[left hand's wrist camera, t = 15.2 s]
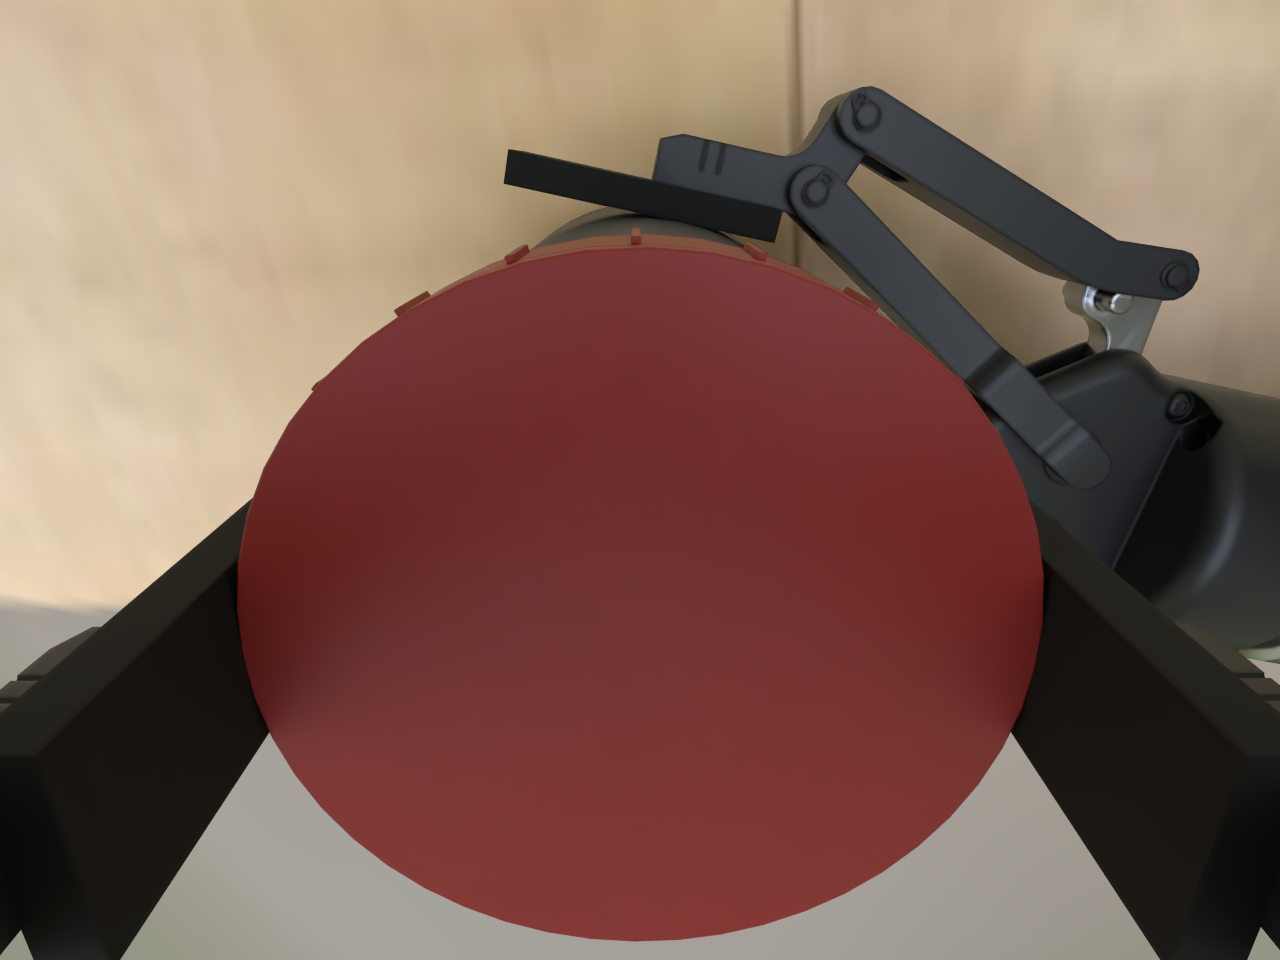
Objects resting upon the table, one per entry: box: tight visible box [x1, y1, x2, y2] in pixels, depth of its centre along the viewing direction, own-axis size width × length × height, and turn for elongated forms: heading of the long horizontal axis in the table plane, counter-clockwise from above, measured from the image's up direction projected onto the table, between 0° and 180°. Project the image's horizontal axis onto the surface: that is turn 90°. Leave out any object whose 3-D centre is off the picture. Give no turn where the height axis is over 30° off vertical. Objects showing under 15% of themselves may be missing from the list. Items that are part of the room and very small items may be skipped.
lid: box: [237, 228, 1044, 941], centre depth 11 cm, size 11×11×2 cm
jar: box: [530, 207, 744, 251], centre depth 19 cm, size 10×10×18 cm
